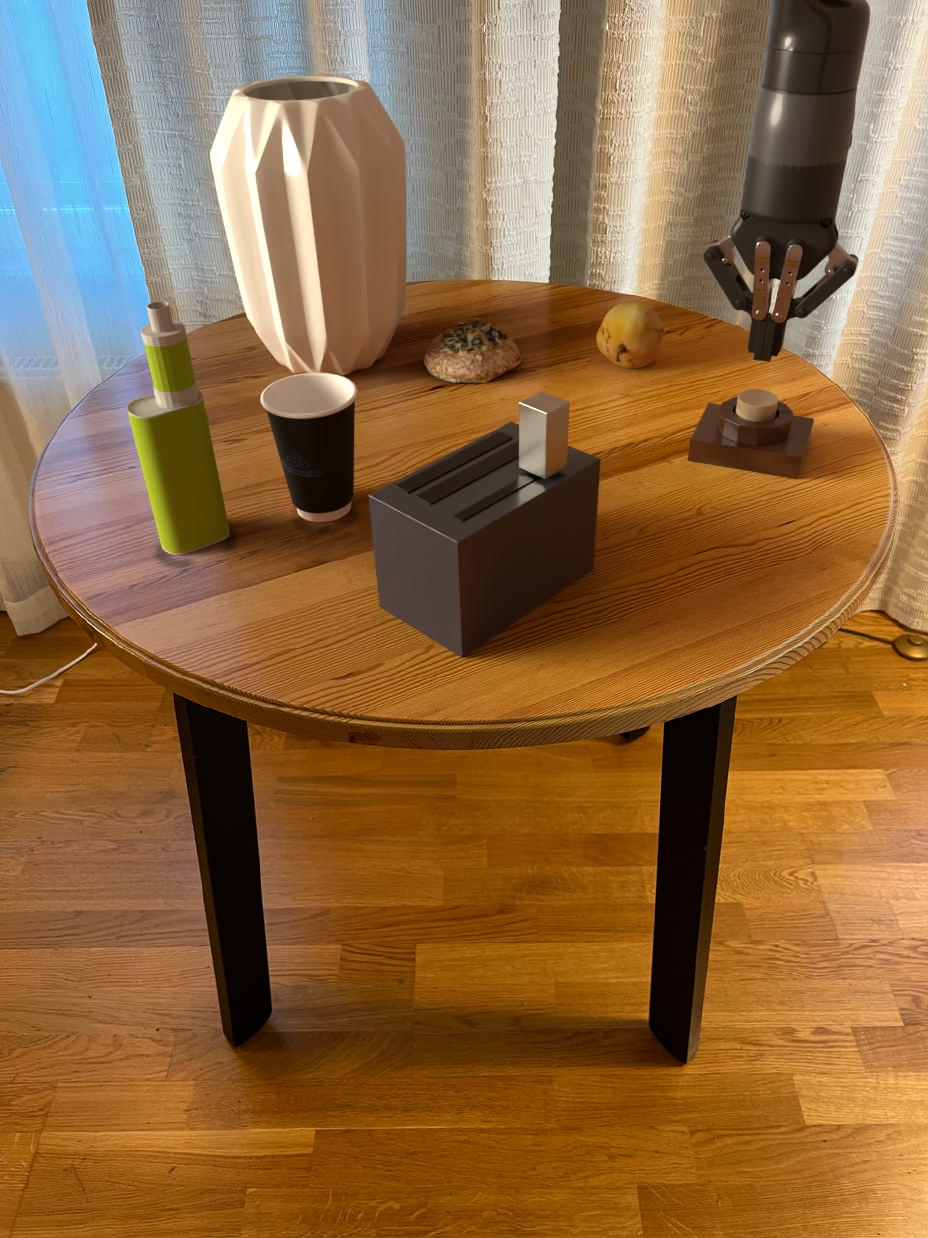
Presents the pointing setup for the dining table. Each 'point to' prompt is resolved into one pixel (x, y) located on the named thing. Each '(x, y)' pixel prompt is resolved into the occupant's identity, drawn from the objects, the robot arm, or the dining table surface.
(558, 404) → the toaster slider
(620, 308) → the fruit
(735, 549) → the dining table surface
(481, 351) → the bread roll
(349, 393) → the dixie cup
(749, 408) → the power button
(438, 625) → the toaster
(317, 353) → the vase
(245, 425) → the dining table surface
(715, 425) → the block
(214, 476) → the vape
